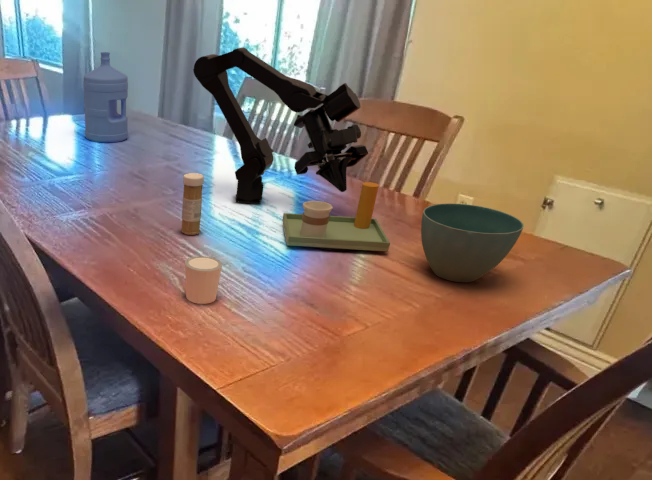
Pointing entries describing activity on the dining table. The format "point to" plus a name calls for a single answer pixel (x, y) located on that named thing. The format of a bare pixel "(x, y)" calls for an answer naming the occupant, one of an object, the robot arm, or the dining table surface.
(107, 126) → the water jug
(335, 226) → the tray
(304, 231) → the beige banded cup
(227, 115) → the robot arm
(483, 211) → the dark green bowl
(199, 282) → the peach tapered cup
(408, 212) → the dining table surface
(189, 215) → the sprinkles bottle
